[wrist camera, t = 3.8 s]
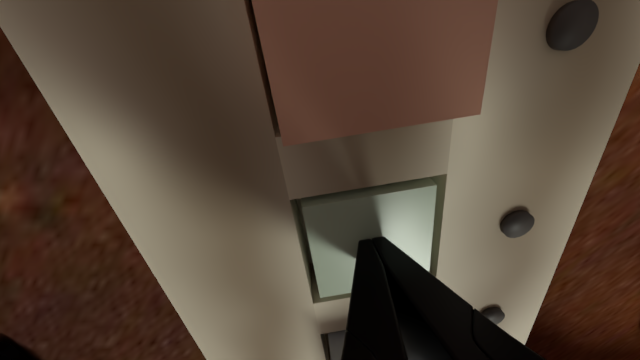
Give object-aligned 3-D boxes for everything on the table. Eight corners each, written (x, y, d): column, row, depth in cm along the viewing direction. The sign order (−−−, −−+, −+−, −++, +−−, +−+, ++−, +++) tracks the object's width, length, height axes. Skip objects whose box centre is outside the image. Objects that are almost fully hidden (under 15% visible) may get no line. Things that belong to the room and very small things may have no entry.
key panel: (250, 356, 16) (242, 423, 13) (36, -100, 7) (-151, -197, 4) (479, 315, 17) (517, 373, 14) (599, -181, 7) (814, -330, 4)
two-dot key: (284, 119, 7) (283, 146, 5) (242, -88, 5) (219, -146, 3) (436, 95, 7) (480, 114, 5) (451, -119, 5) (527, -189, 4)
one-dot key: (315, 259, 11) (320, 298, 10) (299, 177, 10) (301, 207, 8) (408, 243, 12) (428, 278, 10) (411, 158, 10) (437, 185, 8)
